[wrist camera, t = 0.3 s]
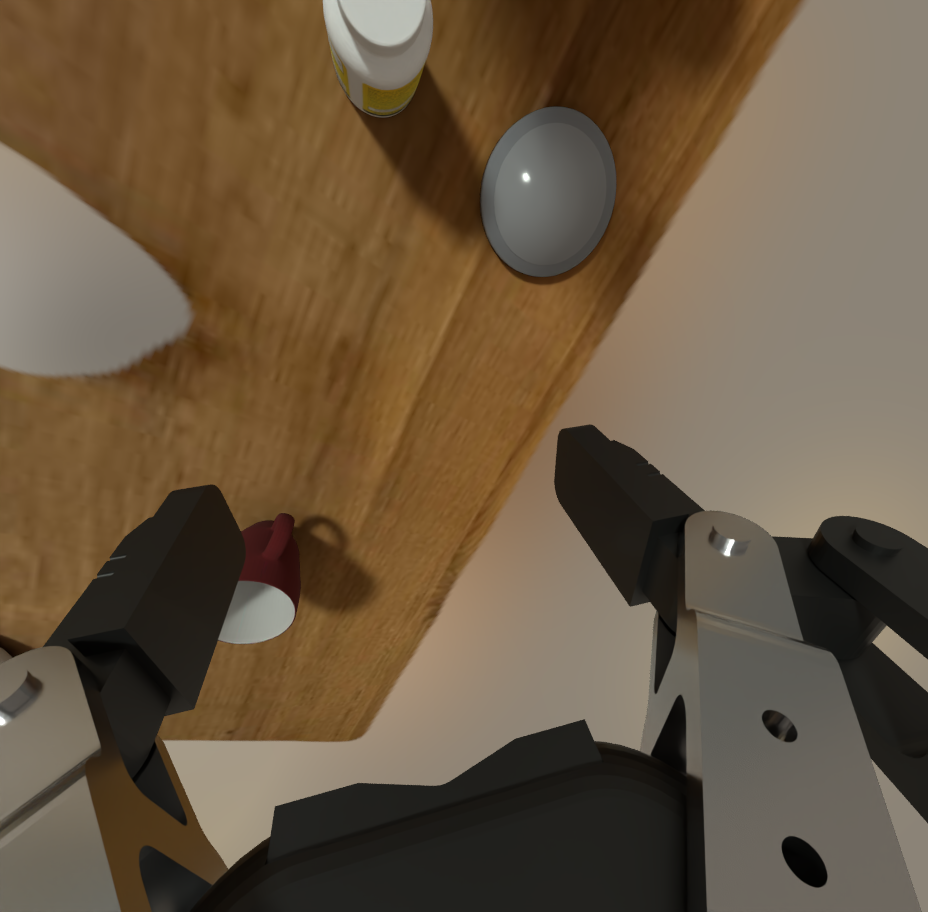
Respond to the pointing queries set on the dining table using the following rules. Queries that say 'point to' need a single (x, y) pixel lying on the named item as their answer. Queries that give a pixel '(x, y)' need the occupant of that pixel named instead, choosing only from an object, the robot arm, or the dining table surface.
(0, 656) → the decorative figurine
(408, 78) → the supplement bottle
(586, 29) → the dining table surface
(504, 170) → the slate coaster
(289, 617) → the mug
